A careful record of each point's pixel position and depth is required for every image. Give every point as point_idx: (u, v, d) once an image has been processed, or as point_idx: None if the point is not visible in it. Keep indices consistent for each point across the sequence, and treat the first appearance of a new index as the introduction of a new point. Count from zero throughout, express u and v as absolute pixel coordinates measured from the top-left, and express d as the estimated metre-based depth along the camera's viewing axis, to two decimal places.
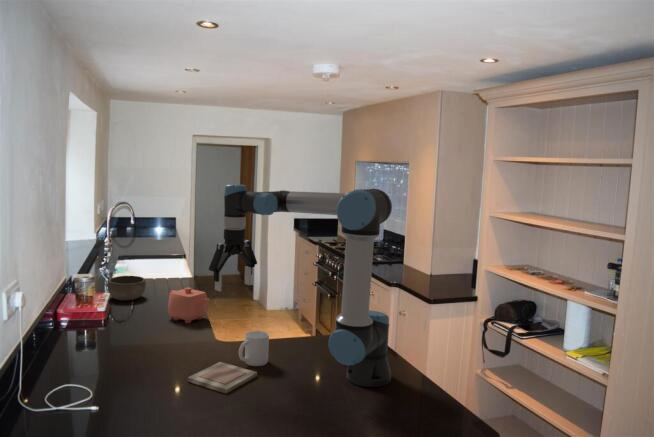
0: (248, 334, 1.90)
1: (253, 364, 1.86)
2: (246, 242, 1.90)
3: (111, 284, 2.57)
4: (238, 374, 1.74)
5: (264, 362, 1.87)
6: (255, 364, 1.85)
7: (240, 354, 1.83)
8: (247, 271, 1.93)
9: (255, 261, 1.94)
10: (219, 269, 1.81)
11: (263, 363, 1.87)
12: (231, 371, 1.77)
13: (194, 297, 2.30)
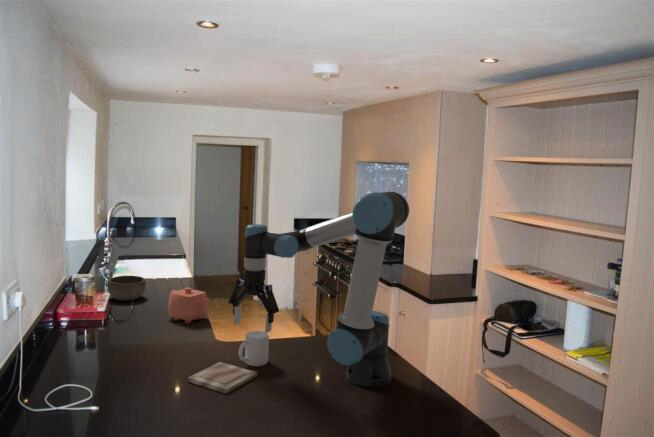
0: (248, 334, 1.90)
1: (253, 364, 1.86)
2: (265, 286, 1.82)
3: (111, 284, 2.57)
4: (238, 374, 1.74)
5: (264, 362, 1.87)
6: (255, 364, 1.85)
7: (240, 354, 1.83)
8: None
9: (273, 310, 1.81)
10: (234, 303, 1.89)
11: (263, 363, 1.87)
12: (231, 371, 1.77)
13: (194, 297, 2.30)
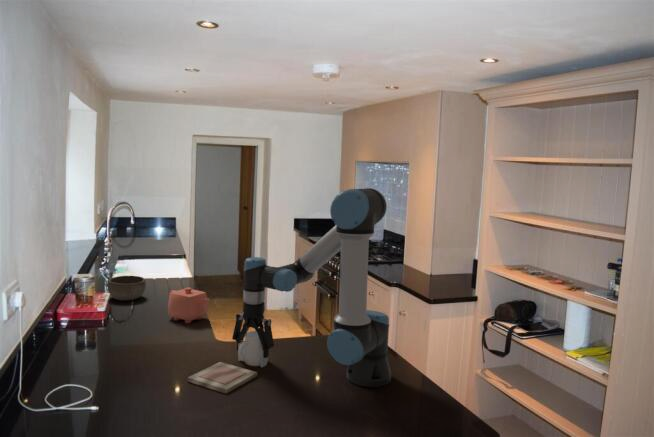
0: (248, 334, 1.90)
1: (253, 364, 1.86)
2: (264, 321, 1.84)
3: (111, 284, 2.57)
4: (238, 374, 1.74)
5: None
6: (255, 364, 1.86)
7: (240, 354, 1.84)
8: None
9: (268, 345, 1.83)
10: (238, 339, 1.89)
11: None
12: (231, 371, 1.77)
13: (194, 297, 2.30)
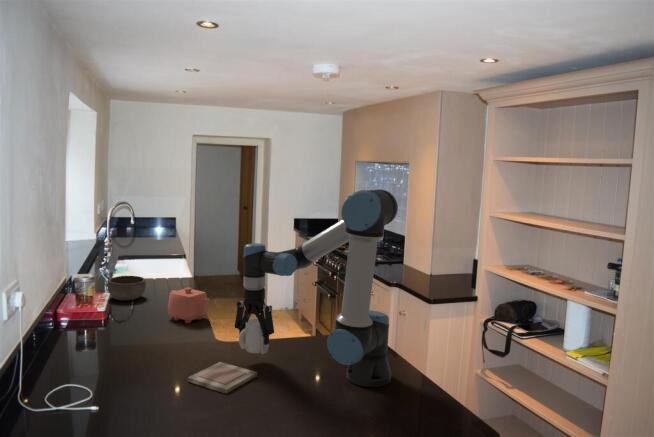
0: (248, 322, 1.90)
1: (253, 351, 1.85)
2: (265, 307, 1.83)
3: (111, 284, 2.57)
4: (238, 374, 1.74)
5: None
6: (255, 351, 1.85)
7: (240, 341, 1.83)
8: None
9: (268, 331, 1.82)
10: (240, 327, 1.88)
11: None
12: (231, 371, 1.77)
13: (194, 297, 2.30)
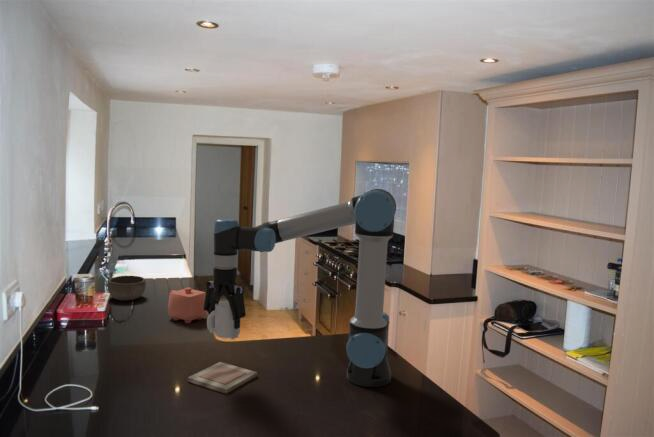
0: (218, 304, 1.75)
1: (223, 335, 1.70)
2: None
3: (111, 284, 2.57)
4: (238, 374, 1.74)
5: None
6: (225, 335, 1.70)
7: (208, 324, 1.68)
8: None
9: (239, 314, 1.68)
10: (209, 310, 1.73)
11: None
12: (231, 371, 1.77)
13: (194, 297, 2.30)
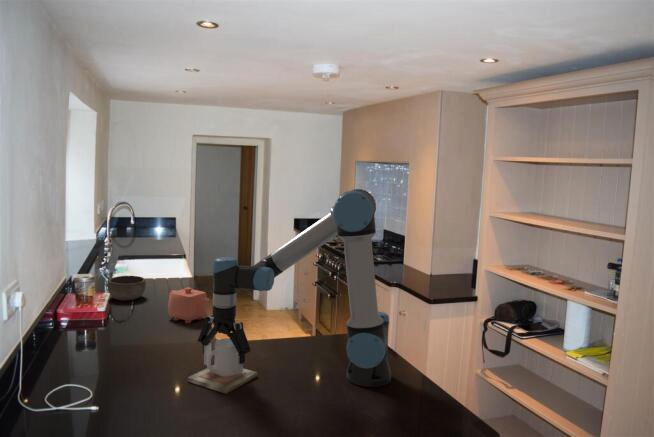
0: (218, 342, 1.76)
1: (222, 374, 1.72)
2: None
3: (111, 284, 2.57)
4: (238, 374, 1.74)
5: (235, 372, 1.73)
6: (225, 374, 1.72)
7: (208, 364, 1.70)
8: None
9: (243, 350, 1.68)
10: (204, 342, 1.76)
11: (233, 373, 1.73)
12: None
13: (194, 297, 2.30)
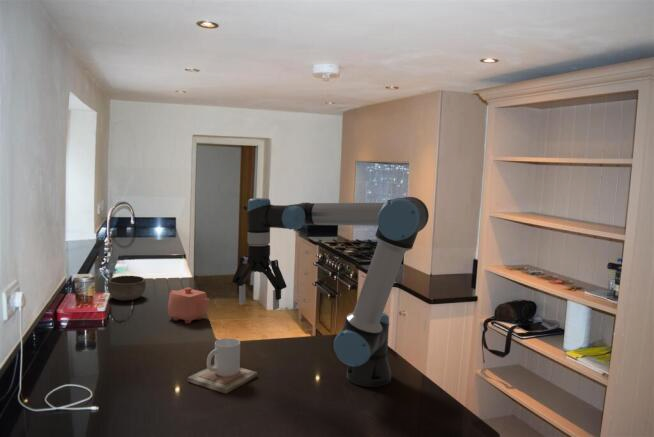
0: (218, 342, 1.76)
1: (222, 374, 1.72)
2: None
3: (111, 284, 2.57)
4: (238, 374, 1.74)
5: (235, 372, 1.73)
6: (225, 374, 1.72)
7: (208, 364, 1.70)
8: None
9: (280, 285, 1.73)
10: (238, 282, 1.80)
11: (233, 373, 1.73)
12: None
13: (194, 297, 2.30)
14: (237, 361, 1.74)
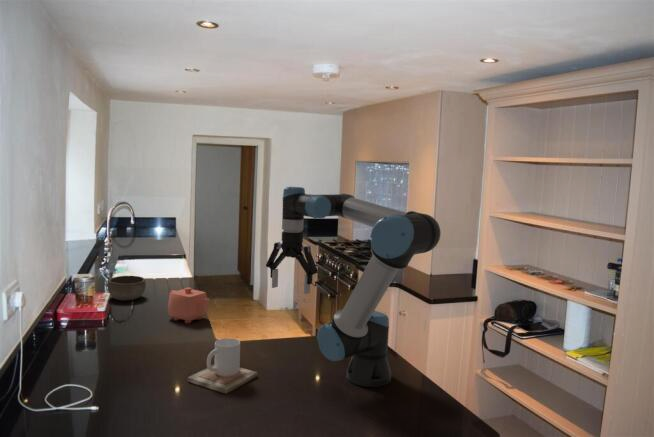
0: (218, 342, 1.76)
1: (222, 374, 1.72)
2: None
3: (111, 284, 2.57)
4: (238, 374, 1.74)
5: (235, 372, 1.73)
6: (225, 374, 1.72)
7: (208, 364, 1.70)
8: None
9: (312, 270, 1.81)
10: (272, 266, 1.89)
11: (233, 373, 1.73)
12: None
13: (194, 297, 2.30)
14: (237, 361, 1.74)
